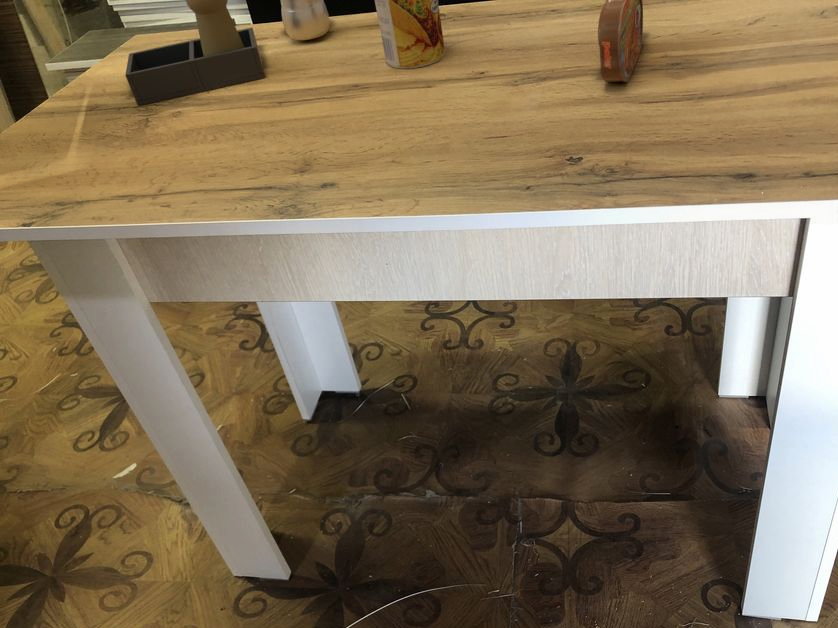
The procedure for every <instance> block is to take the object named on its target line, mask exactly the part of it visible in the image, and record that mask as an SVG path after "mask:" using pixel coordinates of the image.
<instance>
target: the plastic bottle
mask: <svg viewBox="0 0 838 628" xmlns="http://www.w3.org/2000/svg"><path fill="white" fill-rule="evenodd" d="M280 5H281V20H282V25H283V27H284V31H285V32H286V34H287V35H288V36H289V38H291V39H292V40H295V41H307V40H313V39H317V38H320V37H322V36H325V34H327V33H328V31H329V28H330V15H329V11H328V9H327V5H326V2H325V1H324V0H280Z"/></svg>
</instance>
